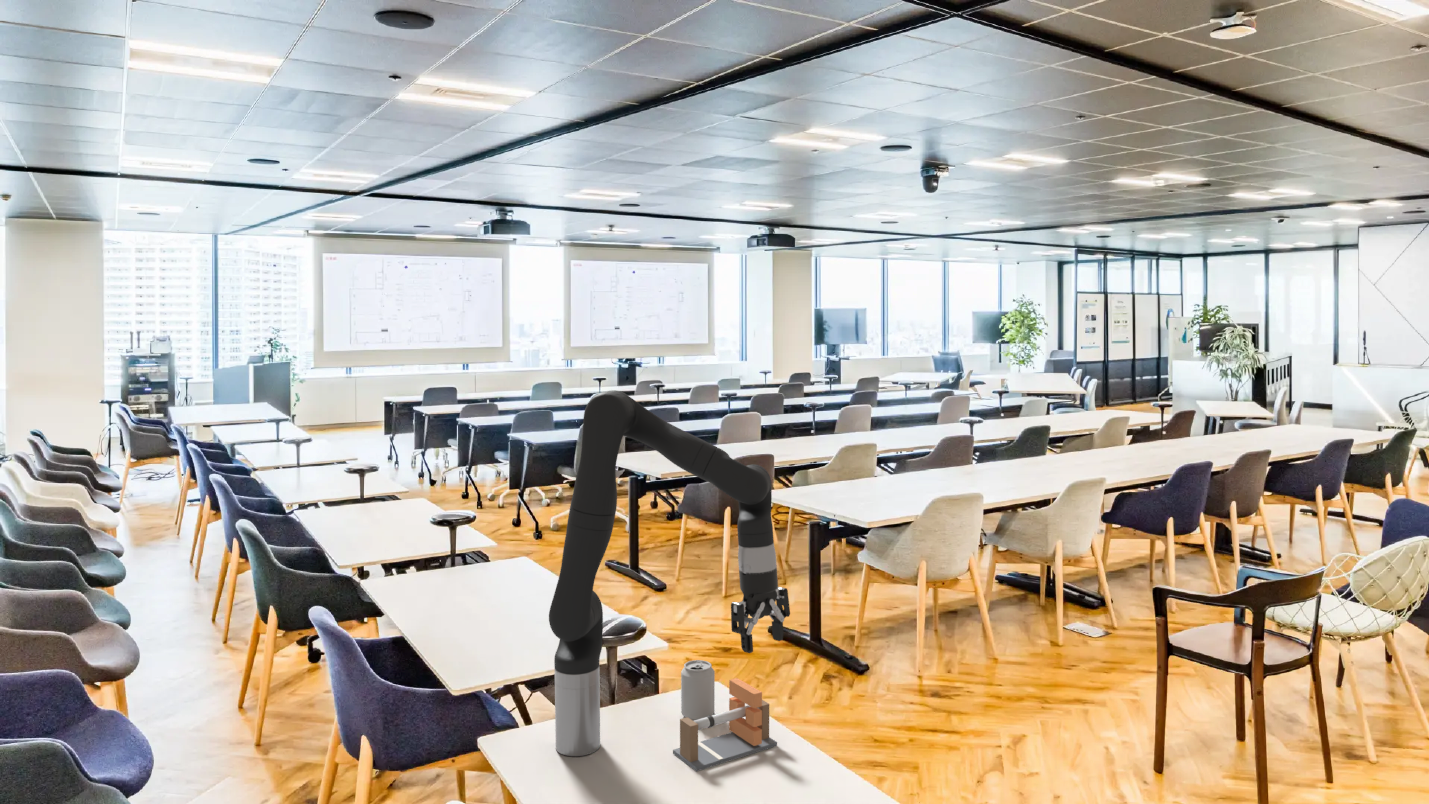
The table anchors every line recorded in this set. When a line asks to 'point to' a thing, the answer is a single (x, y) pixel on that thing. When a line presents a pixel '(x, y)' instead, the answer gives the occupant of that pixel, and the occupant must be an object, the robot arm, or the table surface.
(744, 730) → the collar
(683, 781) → the table surface
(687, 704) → the can
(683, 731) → the pipe stand
